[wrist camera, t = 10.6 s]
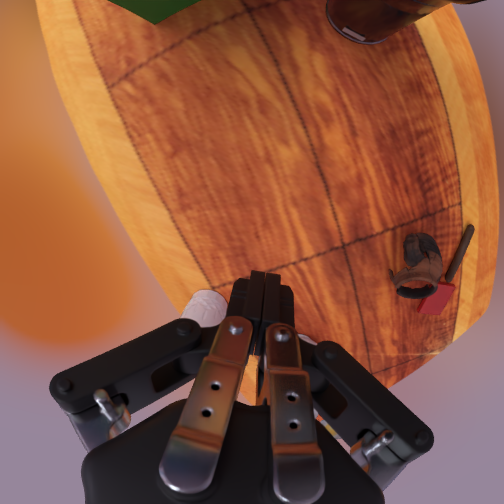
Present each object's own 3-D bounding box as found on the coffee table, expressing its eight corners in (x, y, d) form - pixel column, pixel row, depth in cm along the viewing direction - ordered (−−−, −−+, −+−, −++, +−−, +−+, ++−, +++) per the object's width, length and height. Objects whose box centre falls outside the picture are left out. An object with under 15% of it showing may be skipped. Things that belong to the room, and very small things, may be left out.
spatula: (459, 218, 35) (463, 222, 33) (479, 226, 35) (484, 230, 33) (416, 310, 44) (419, 315, 43) (437, 312, 44) (440, 317, 43)
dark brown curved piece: (443, 254, 39) (447, 297, 34) (397, 264, 45) (396, 305, 41) (429, 210, 32) (437, 257, 28) (374, 225, 39) (373, 270, 35)
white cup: (212, 279, 45) (197, 319, 36) (239, 311, 47) (231, 353, 39) (179, 296, 47) (160, 335, 39) (206, 325, 50) (193, 365, 41)
